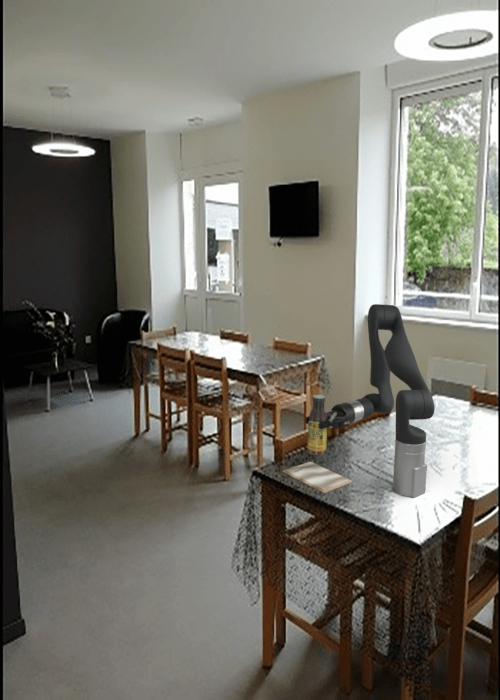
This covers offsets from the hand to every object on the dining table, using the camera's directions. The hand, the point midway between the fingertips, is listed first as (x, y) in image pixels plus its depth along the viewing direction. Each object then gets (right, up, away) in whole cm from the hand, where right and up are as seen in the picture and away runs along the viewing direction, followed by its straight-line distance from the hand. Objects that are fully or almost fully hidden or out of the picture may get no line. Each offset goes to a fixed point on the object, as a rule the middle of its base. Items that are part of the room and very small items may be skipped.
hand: (312, 423), depth 183 cm
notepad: (+2, -19, +5) cm, 20 cm away
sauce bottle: (+2, -11, +4) cm, 11 cm away
